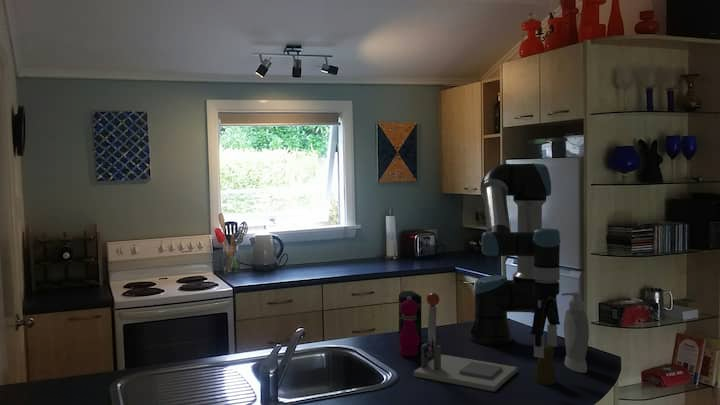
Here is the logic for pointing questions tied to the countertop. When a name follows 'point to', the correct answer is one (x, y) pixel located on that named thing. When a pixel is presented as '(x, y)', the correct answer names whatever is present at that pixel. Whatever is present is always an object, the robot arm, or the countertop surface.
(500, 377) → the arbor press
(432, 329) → the press lever
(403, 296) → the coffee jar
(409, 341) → the pepper mill
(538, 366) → the cork
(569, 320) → the soap bottle
